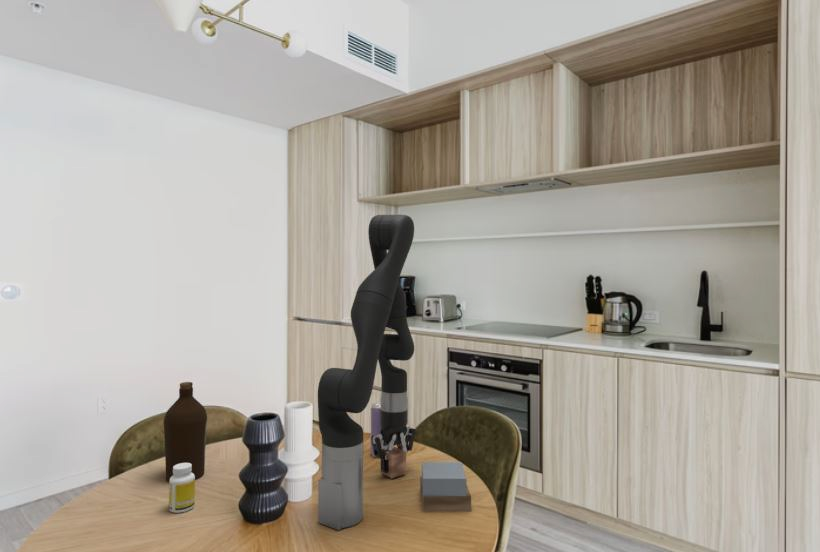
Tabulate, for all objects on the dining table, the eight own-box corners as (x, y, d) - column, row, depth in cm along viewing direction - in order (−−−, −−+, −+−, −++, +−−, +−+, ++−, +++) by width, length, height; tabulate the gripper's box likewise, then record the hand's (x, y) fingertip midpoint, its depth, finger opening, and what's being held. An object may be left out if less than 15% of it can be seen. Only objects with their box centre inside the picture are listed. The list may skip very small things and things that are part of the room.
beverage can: (389, 458, 144) (389, 408, 144) (369, 458, 144) (369, 407, 144) (390, 451, 150) (391, 402, 150) (371, 450, 150) (371, 402, 150)
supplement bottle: (199, 504, 114) (200, 463, 114) (182, 515, 109) (182, 471, 109) (181, 501, 115) (182, 460, 115) (163, 511, 110) (163, 468, 110)
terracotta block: (391, 478, 128) (391, 455, 128) (380, 472, 132) (380, 450, 132) (406, 473, 131) (406, 451, 131) (394, 468, 135) (395, 446, 135)
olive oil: (172, 488, 122) (173, 389, 123) (157, 476, 130) (157, 383, 130) (213, 475, 130) (214, 383, 130) (196, 465, 137) (197, 377, 138)
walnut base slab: (471, 513, 112) (471, 495, 112) (423, 514, 111) (423, 496, 111) (463, 492, 123) (463, 476, 123) (420, 492, 122) (420, 476, 122)
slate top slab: (466, 496, 112) (466, 478, 112) (423, 495, 111) (423, 478, 111) (461, 478, 122) (461, 462, 122) (421, 477, 121) (422, 461, 121)
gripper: (381, 414, 124) (380, 481, 124) (422, 406, 134) (422, 467, 133) (364, 408, 130) (363, 472, 130) (405, 400, 139) (405, 459, 139)
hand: (393, 469), depth 132 cm, fingers closed on terracotta block, 5 cm apart
